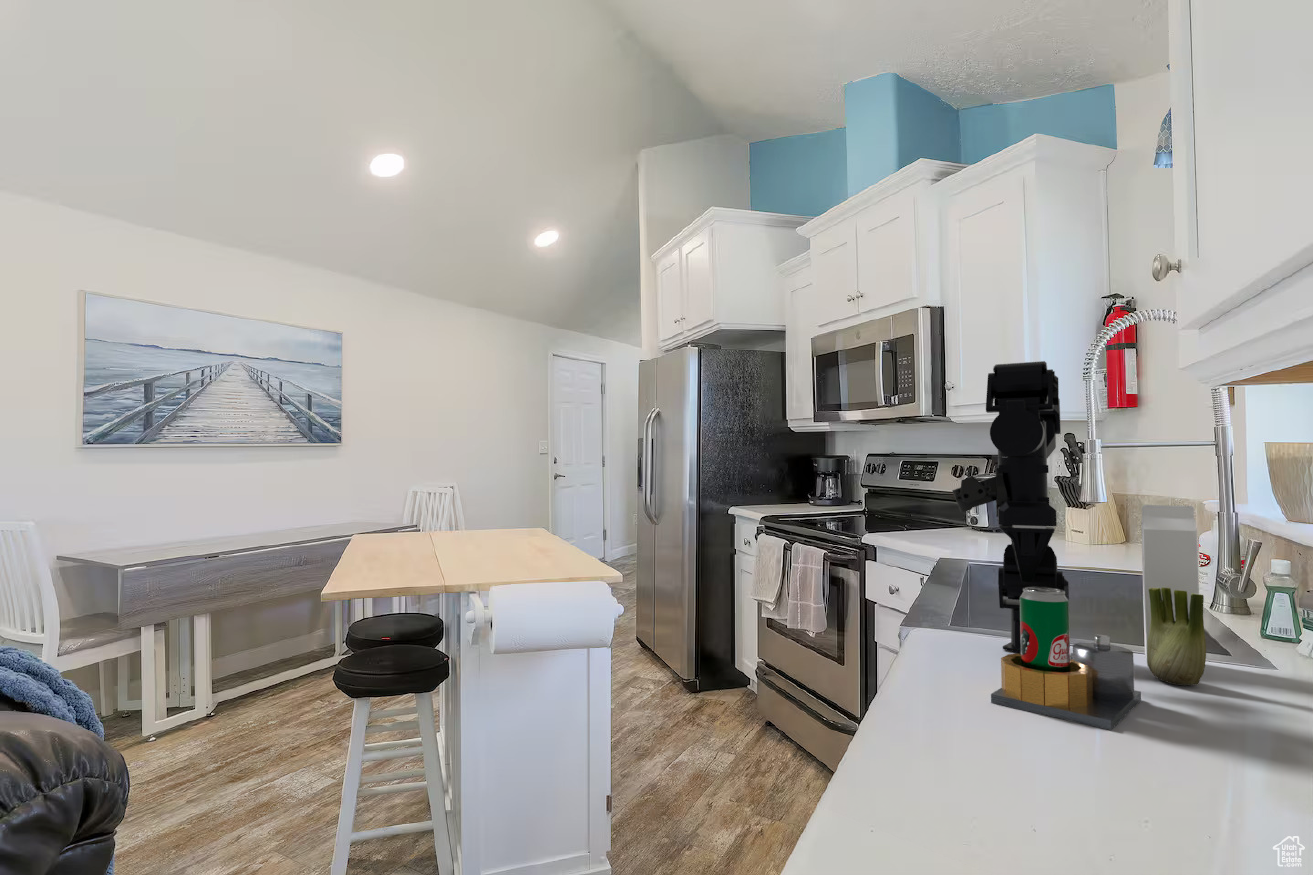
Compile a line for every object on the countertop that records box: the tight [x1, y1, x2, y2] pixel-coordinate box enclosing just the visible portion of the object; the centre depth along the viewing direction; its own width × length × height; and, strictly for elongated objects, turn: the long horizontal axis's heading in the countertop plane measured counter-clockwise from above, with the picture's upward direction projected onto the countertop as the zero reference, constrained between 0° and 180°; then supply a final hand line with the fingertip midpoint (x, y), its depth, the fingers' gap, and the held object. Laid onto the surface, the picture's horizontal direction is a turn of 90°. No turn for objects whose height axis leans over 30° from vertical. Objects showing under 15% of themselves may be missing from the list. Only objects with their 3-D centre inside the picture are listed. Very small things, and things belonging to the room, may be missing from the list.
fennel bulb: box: [1146, 587, 1207, 686], centre depth 90 cm, size 6×5×12 cm
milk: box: [1140, 504, 1200, 666], centre depth 98 cm, size 6×6×22 cm
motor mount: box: [990, 634, 1142, 731], centre depth 82 cm, size 14×12×8 cm
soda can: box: [1020, 587, 1071, 673], centre depth 82 cm, size 5×5×12 cm
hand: (1024, 576), depth 92 cm, fingers open, 9 cm apart
